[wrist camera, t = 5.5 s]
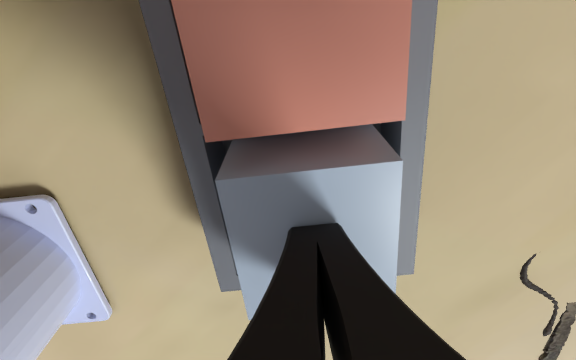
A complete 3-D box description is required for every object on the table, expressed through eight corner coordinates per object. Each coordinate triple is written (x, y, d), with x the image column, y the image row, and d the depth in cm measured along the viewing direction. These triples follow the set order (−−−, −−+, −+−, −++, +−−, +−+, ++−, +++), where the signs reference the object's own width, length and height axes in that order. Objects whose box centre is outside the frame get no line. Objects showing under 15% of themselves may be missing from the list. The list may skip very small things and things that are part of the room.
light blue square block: (256, 257, 13) (248, 320, 10) (232, 139, 10) (214, 180, 8) (371, 245, 13) (394, 307, 10) (371, 124, 10) (403, 160, 8)
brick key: (226, 109, 10) (205, 142, 7) (185, -92, 8) (134, -149, 5) (372, 93, 10) (405, 120, 7) (373, -118, 8) (423, -193, 5)
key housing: (232, 243, 16) (221, 291, 13) (63, -461, 7) (-83, -781, 4) (390, 228, 16) (413, 274, 13) (421, -529, 7) (520, -924, 4)
